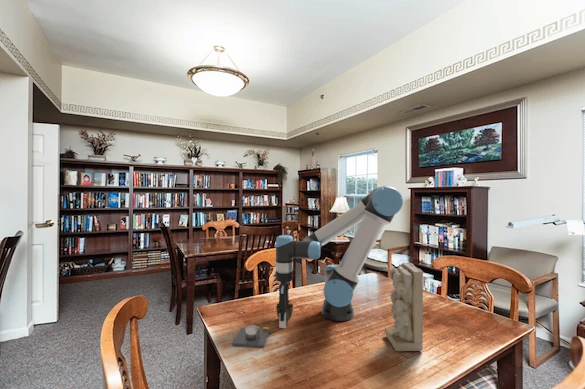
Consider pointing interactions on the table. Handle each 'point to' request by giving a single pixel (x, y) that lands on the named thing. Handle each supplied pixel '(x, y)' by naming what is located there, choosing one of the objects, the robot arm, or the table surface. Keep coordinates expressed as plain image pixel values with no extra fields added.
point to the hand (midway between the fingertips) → (283, 322)
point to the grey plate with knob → (251, 336)
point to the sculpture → (406, 308)
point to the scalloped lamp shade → (288, 311)
